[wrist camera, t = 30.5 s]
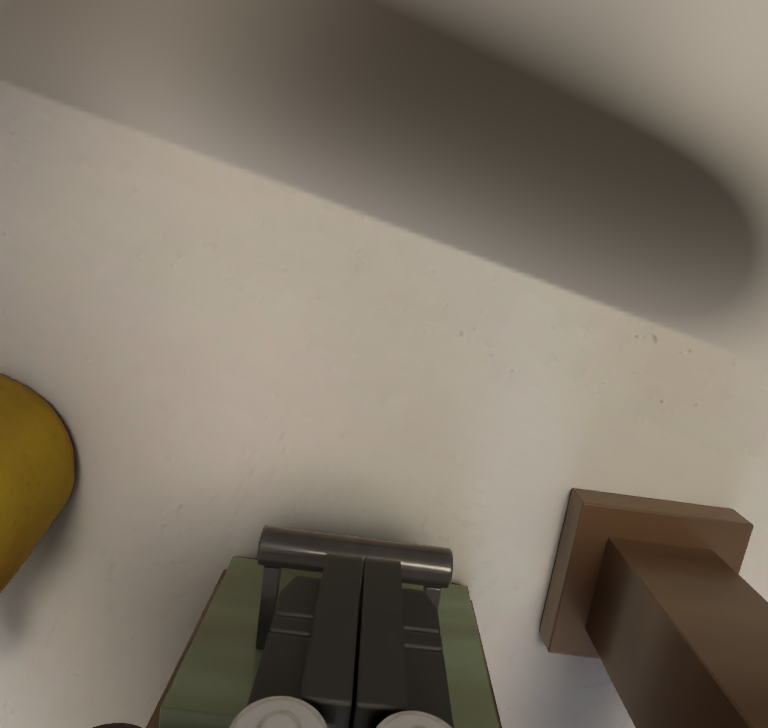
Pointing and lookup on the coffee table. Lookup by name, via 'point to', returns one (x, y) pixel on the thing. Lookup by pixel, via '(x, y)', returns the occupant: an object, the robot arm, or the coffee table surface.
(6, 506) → the mug
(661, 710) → the stand
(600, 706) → the coffee table surface
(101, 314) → the coffee table surface
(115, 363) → the coffee table surface
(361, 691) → the robot arm
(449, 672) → the drawer
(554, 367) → the coffee table surface
